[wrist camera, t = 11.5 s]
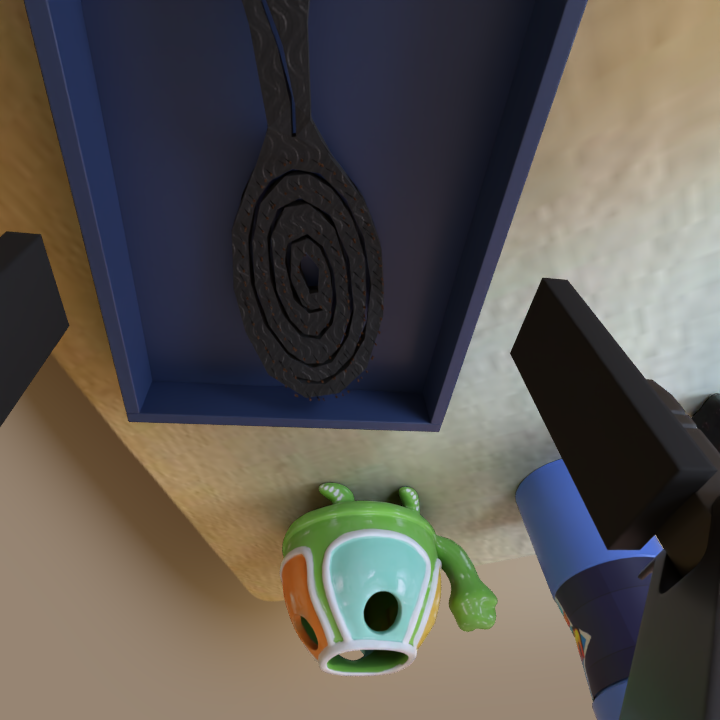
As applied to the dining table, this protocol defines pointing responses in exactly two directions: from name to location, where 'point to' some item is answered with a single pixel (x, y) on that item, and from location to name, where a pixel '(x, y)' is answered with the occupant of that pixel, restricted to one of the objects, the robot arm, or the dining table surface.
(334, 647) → the turtle holder
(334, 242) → the hairbrush
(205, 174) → the tray
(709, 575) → the robot arm
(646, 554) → the water bottle
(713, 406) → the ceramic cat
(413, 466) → the dining table surface
